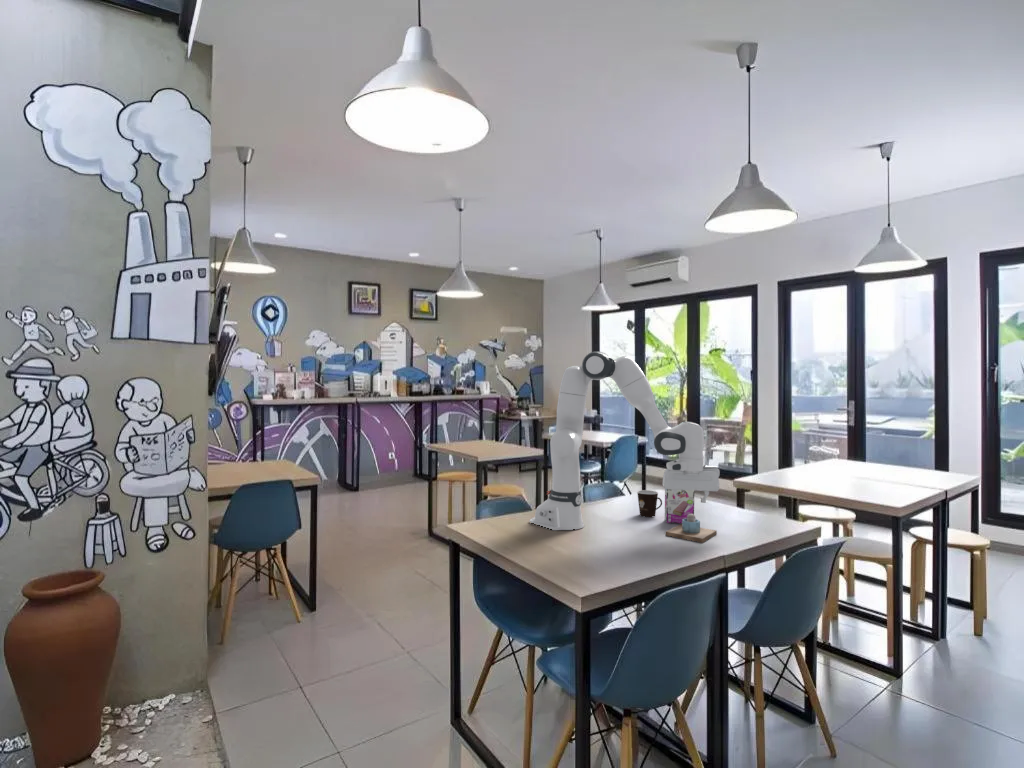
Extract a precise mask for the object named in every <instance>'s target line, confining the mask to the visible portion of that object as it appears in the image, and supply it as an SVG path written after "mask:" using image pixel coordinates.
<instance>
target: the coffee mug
mask: <svg viewBox="0 0 1024 768" xmlns="http://www.w3.org/2000/svg"><path fill="white" fill-rule="evenodd" d="M658 495H659V492H658V491H655V490H648V489H644V490H643V489H642V490H641V489H640V490H637V500H638V509H639V510H638V511H639V516H640V515H641V517H643V516H645V517H644V518H653V517H652V516H655V517H656V513H657V510H658V509H660V508H661V506H662V505H663V500H662V499H661V498H660V497H658ZM658 501H659V503H660V504H659V506H658V507H657V505H658V504H657V503H658Z"/></svg>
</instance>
